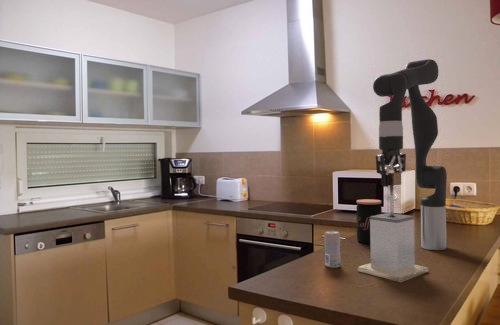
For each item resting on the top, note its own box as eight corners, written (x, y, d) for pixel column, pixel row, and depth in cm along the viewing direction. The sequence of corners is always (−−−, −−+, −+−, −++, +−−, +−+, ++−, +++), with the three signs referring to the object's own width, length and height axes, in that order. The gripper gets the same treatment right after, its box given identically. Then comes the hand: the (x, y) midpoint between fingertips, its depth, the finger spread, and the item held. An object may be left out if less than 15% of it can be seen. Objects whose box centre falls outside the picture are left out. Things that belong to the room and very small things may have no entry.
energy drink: (338, 263, 150) (337, 230, 150) (342, 267, 145) (341, 233, 145) (323, 264, 150) (323, 230, 150) (326, 268, 145) (326, 233, 144)
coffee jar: (352, 242, 183) (351, 201, 183) (364, 237, 191) (363, 198, 191) (375, 245, 176) (374, 202, 175) (386, 241, 184) (385, 200, 183)
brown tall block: (388, 233, 144) (388, 171, 143) (408, 236, 138) (407, 172, 137) (376, 236, 139) (375, 172, 139) (395, 239, 134) (394, 173, 133)
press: (385, 262, 150) (384, 211, 150) (428, 271, 138) (427, 216, 137) (357, 271, 140) (357, 216, 140) (401, 282, 128) (400, 222, 127)
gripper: (393, 135, 145) (393, 183, 146) (368, 135, 136) (368, 186, 137) (413, 134, 139) (413, 184, 140) (388, 134, 130) (389, 188, 131)
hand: (391, 185), depth 138 cm, fingers open, 6 cm apart
